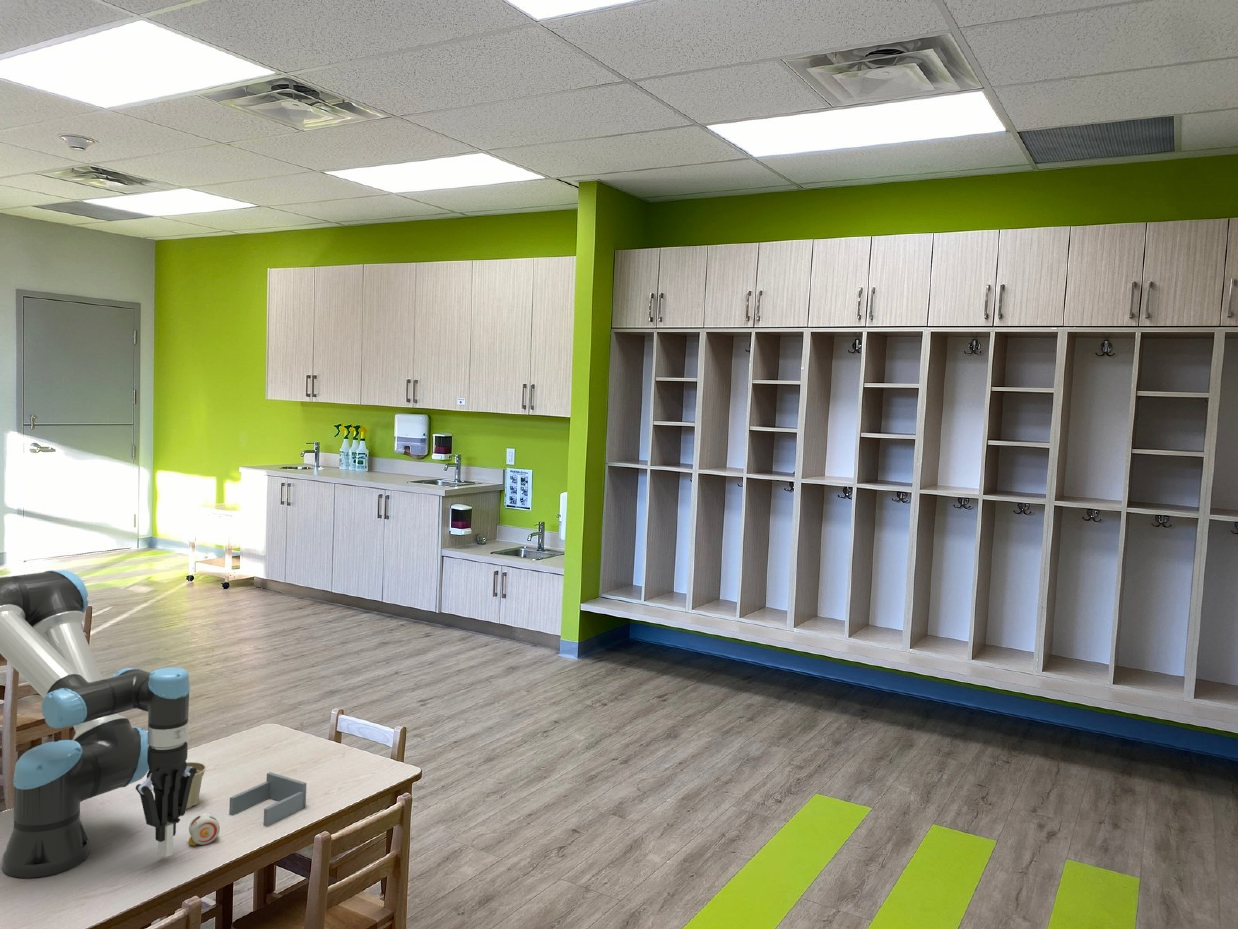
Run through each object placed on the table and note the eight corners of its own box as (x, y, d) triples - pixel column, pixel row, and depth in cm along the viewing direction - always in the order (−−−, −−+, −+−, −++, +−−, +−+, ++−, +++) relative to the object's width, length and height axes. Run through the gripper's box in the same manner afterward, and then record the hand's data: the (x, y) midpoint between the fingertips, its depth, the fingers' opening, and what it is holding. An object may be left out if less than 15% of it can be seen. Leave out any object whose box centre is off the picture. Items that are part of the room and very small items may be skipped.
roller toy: (221, 843, 198) (222, 817, 197) (189, 849, 194) (190, 823, 194) (217, 834, 201) (217, 809, 201) (186, 841, 198) (186, 815, 197)
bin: (266, 826, 206) (267, 801, 206) (229, 814, 211) (230, 789, 211) (305, 807, 217) (306, 783, 217) (269, 795, 222) (269, 772, 222)
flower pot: (155, 803, 215) (156, 767, 215) (196, 792, 222) (197, 758, 221) (169, 817, 208) (170, 780, 208) (211, 806, 215) (212, 770, 215)
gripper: (151, 757, 180) (149, 871, 182) (206, 738, 192) (204, 845, 193) (127, 749, 184) (124, 862, 185) (182, 731, 195) (180, 836, 197)
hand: (165, 853), depth 189 cm, fingers closed
